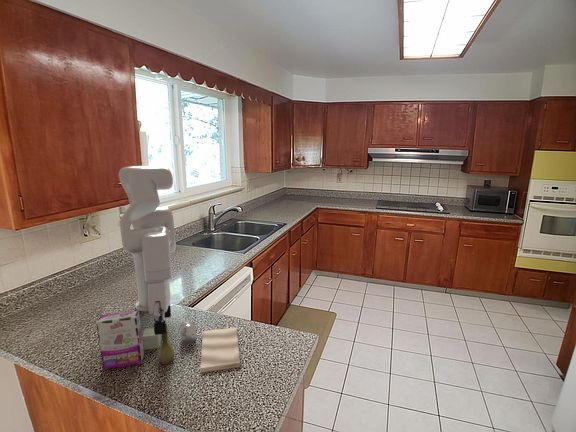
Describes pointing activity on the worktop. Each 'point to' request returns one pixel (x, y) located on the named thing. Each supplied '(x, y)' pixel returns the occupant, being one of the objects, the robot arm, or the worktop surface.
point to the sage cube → (150, 339)
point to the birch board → (219, 350)
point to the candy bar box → (120, 339)
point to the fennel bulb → (165, 350)
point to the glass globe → (188, 332)
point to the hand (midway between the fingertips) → (163, 325)
